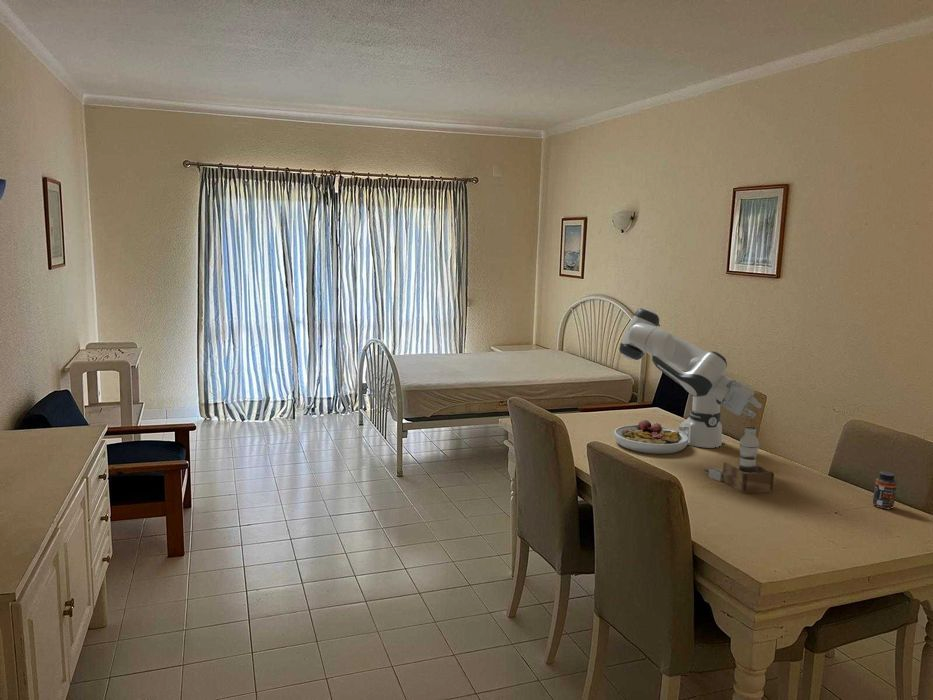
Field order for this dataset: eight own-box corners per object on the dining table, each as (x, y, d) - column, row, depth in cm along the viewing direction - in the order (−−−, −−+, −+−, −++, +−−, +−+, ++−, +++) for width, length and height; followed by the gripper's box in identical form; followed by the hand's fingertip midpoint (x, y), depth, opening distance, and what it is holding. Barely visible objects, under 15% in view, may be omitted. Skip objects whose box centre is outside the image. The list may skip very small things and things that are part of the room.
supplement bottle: (882, 510, 225) (886, 476, 223) (868, 503, 231) (872, 470, 229) (898, 509, 226) (902, 476, 225) (883, 502, 232) (887, 470, 230)
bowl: (696, 457, 278) (698, 438, 277) (621, 455, 279) (622, 436, 277) (675, 436, 308) (676, 419, 307) (607, 434, 308) (608, 417, 307)
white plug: (701, 474, 256) (702, 467, 256) (707, 473, 258) (708, 465, 257) (726, 483, 247) (727, 475, 247) (732, 482, 249) (733, 474, 248)
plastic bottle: (735, 484, 243) (739, 429, 240) (736, 478, 249) (741, 424, 246) (754, 487, 240) (759, 431, 237) (756, 482, 246) (761, 427, 243)
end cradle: (722, 480, 250) (723, 462, 249) (749, 479, 252) (751, 461, 251) (743, 493, 238) (745, 474, 236) (772, 492, 240) (774, 473, 239)
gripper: (735, 372, 253) (769, 395, 248) (725, 393, 272) (757, 415, 266) (725, 384, 252) (758, 407, 246) (715, 405, 270) (747, 427, 265)
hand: (757, 411), depth 256 cm, fingers open, 8 cm apart
